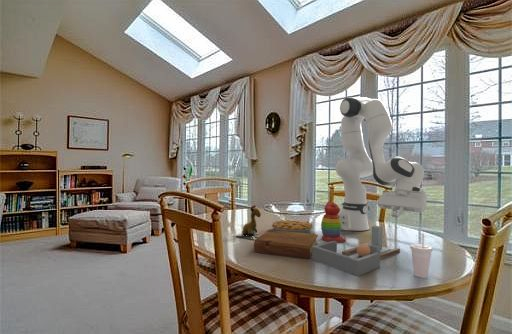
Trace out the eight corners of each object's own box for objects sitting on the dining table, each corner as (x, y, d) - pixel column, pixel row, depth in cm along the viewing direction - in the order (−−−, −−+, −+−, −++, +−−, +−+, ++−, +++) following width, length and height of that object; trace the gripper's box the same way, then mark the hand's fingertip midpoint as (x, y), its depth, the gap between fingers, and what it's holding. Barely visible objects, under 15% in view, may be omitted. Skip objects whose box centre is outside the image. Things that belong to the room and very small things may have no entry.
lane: (341, 255, 114) (341, 251, 114) (373, 245, 127) (373, 242, 127) (369, 264, 105) (369, 259, 104) (399, 252, 118) (399, 248, 118)
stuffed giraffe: (257, 241, 135) (257, 207, 135) (227, 237, 144) (226, 205, 145) (273, 234, 149) (273, 204, 149) (244, 231, 158) (244, 202, 159)
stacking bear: (347, 242, 132) (347, 203, 132) (326, 243, 131) (326, 204, 130) (337, 236, 143) (337, 200, 142) (317, 237, 141) (317, 201, 141)
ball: (354, 256, 113) (354, 243, 113) (361, 253, 116) (361, 241, 116) (365, 259, 109) (365, 246, 109) (372, 257, 112) (372, 244, 112)
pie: (317, 229, 158) (317, 220, 158) (307, 239, 138) (307, 228, 138) (279, 225, 167) (279, 217, 167) (265, 234, 147) (265, 224, 147)
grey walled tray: (311, 259, 110) (311, 246, 110) (333, 252, 117) (333, 240, 117) (357, 276, 94) (357, 261, 93) (379, 267, 101) (379, 253, 101)
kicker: (361, 251, 119) (361, 226, 118) (373, 247, 124) (373, 223, 124) (379, 256, 112) (379, 230, 112) (391, 251, 117) (391, 227, 117)
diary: (254, 254, 118) (254, 240, 118) (268, 242, 135) (268, 229, 135) (310, 260, 109) (309, 245, 109) (318, 246, 127) (317, 233, 127)
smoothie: (435, 280, 90) (436, 236, 90) (413, 278, 92) (413, 235, 91) (427, 272, 97) (428, 231, 96) (407, 271, 98) (407, 230, 97)
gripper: (381, 186, 138) (369, 209, 132) (426, 189, 121) (416, 214, 116) (386, 195, 141) (375, 217, 135) (431, 198, 124) (421, 224, 118)
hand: (394, 216), depth 125 cm, fingers closed
